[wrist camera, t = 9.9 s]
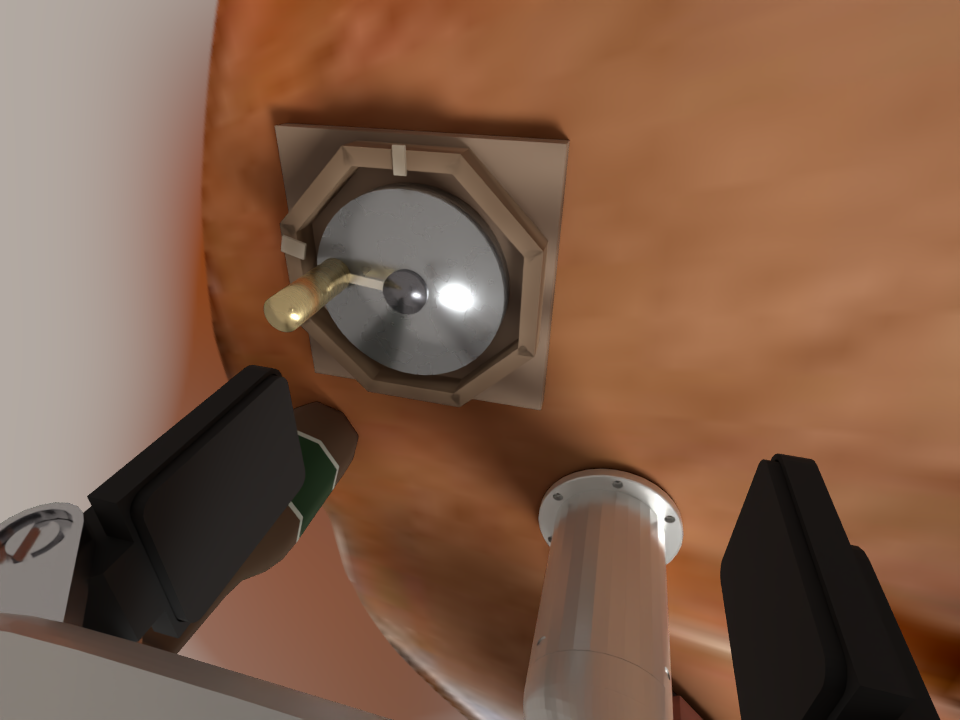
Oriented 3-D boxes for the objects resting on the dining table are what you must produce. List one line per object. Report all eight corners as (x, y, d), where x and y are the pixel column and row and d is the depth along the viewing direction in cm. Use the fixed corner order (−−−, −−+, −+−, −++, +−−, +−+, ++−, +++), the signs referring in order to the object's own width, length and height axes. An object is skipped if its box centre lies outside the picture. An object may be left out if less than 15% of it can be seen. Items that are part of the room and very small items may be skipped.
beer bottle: (368, 466, 53) (204, 720, 33) (299, 458, 55) (106, 693, 35) (353, 402, 49) (158, 645, 29) (280, 395, 51) (51, 619, 31)
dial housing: (543, 399, 44) (535, 428, 41) (323, 363, 48) (300, 387, 45) (569, 140, 34) (561, 150, 30) (286, 122, 38) (252, 130, 34)
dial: (524, 204, 35) (492, 248, 27) (495, 380, 42) (463, 453, 34) (327, 165, 37) (247, 195, 29) (332, 339, 44) (269, 399, 37)
